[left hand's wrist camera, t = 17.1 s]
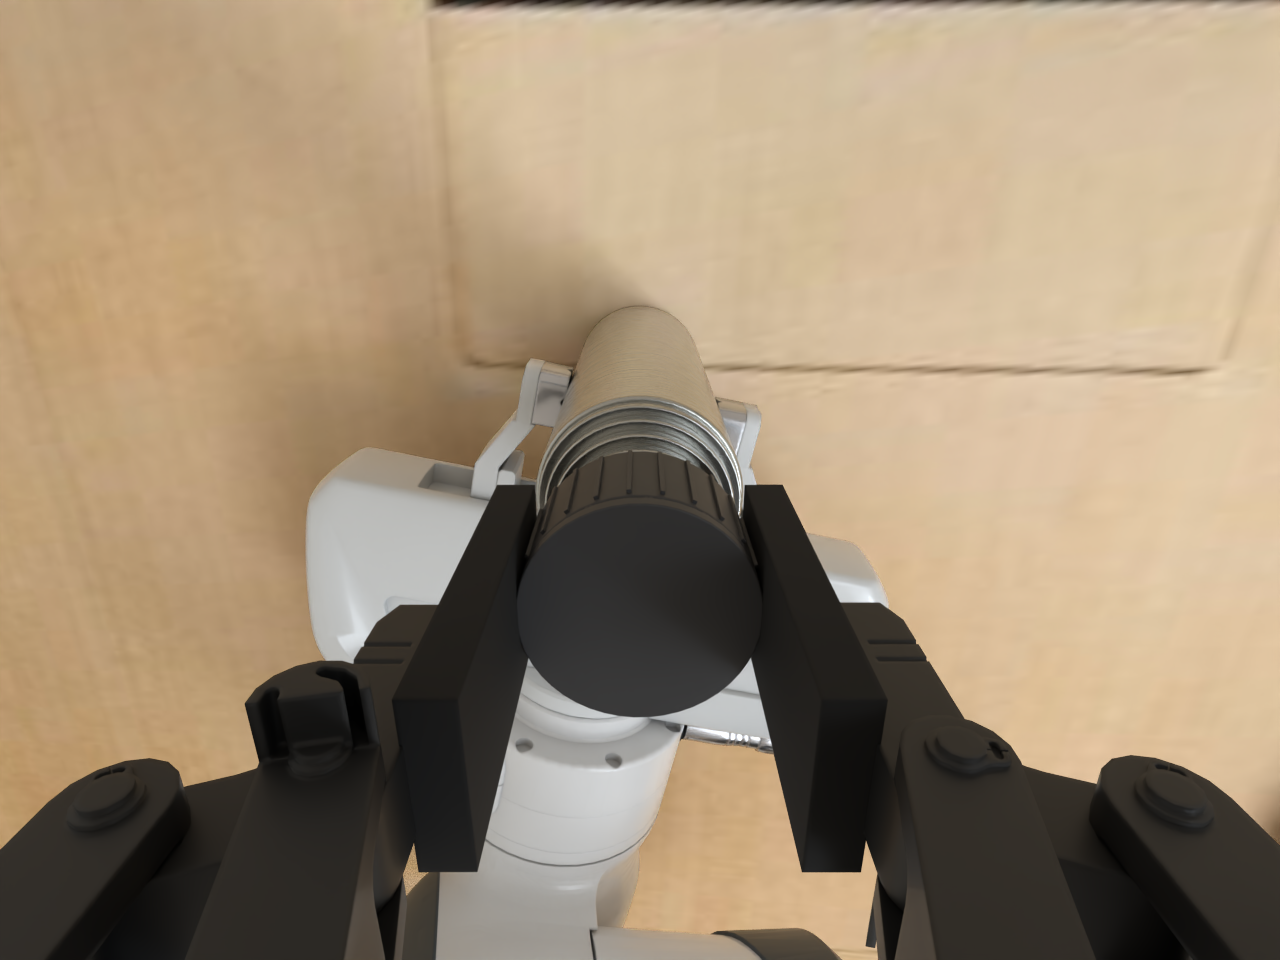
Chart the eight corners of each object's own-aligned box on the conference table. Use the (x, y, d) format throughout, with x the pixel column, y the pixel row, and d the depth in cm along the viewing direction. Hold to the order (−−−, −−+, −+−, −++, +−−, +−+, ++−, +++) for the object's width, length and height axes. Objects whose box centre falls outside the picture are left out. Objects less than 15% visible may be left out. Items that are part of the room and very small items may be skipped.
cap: (703, 659, 16) (715, 745, 13) (510, 606, 15) (486, 686, 13) (778, 484, 14) (806, 544, 12) (565, 419, 14) (549, 468, 11)
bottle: (562, 392, 31) (458, 658, 13) (610, 285, 29) (565, 424, 11) (666, 439, 31) (699, 751, 14) (718, 337, 30) (833, 543, 12)
